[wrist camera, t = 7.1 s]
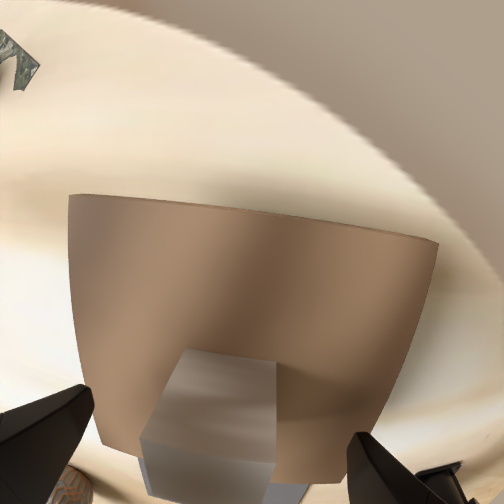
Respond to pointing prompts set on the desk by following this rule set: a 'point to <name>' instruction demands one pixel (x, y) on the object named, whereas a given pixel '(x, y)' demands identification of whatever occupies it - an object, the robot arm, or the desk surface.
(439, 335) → the desk surface
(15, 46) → the eiffel tower figurine
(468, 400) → the desk surface
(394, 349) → the lid
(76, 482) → the vase
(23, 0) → the desk surface
